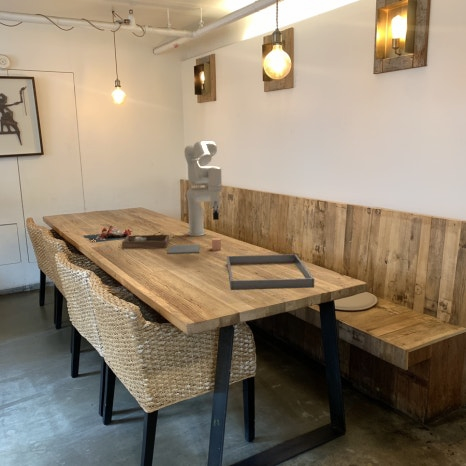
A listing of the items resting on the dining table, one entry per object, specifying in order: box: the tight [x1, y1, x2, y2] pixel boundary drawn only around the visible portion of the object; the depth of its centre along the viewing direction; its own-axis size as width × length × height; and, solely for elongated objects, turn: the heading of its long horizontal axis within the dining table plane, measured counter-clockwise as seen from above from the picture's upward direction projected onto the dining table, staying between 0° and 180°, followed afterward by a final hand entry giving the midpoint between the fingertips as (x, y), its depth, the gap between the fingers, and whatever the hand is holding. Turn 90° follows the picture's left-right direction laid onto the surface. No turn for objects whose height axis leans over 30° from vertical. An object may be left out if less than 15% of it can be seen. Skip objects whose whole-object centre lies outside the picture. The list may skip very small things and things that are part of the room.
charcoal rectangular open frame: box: [226, 253, 315, 291], centre depth 220 cm, size 43×36×4 cm
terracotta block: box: [211, 237, 222, 251], centre depth 272 cm, size 5×5×6 cm
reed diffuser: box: [134, 231, 166, 242], centre depth 289 cm, size 10×7×20 cm
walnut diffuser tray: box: [121, 234, 170, 250], centre depth 286 cm, size 19×26×4 cm
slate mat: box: [166, 244, 201, 255], centre depth 272 cm, size 18×18×1 cm
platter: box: [83, 225, 138, 244], centre depth 312 cm, size 35×27×9 cm
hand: (215, 218), depth 269 cm, fingers open, 9 cm apart
